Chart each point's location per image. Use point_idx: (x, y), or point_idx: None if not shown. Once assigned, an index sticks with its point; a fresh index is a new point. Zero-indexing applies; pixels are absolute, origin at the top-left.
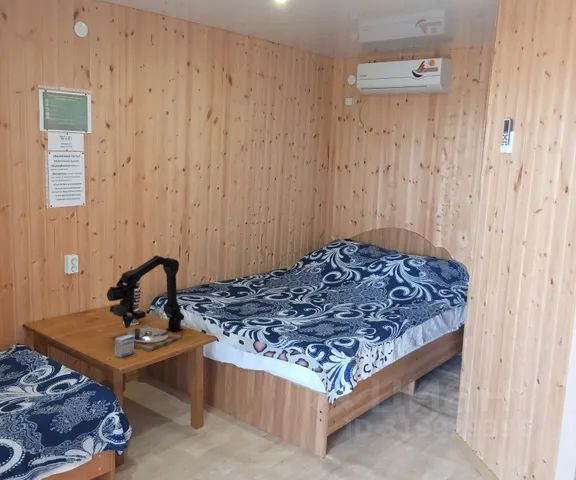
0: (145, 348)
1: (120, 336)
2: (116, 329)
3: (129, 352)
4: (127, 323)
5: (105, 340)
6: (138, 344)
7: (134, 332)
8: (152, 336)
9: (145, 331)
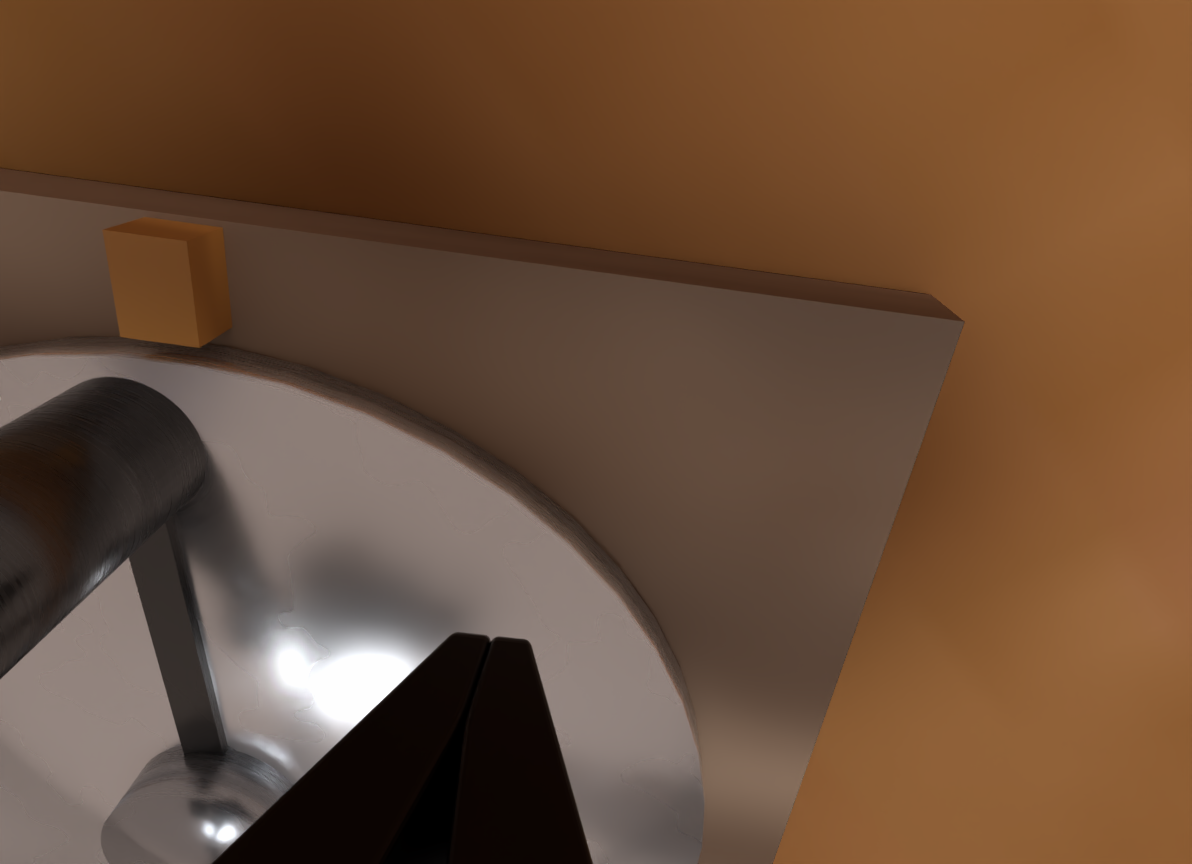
0: None
1: (773, 452)
2: (1180, 813)
3: None
4: (238, 846)
5: (1113, 100)
6: None
7: None
8: (45, 757)
9: None
